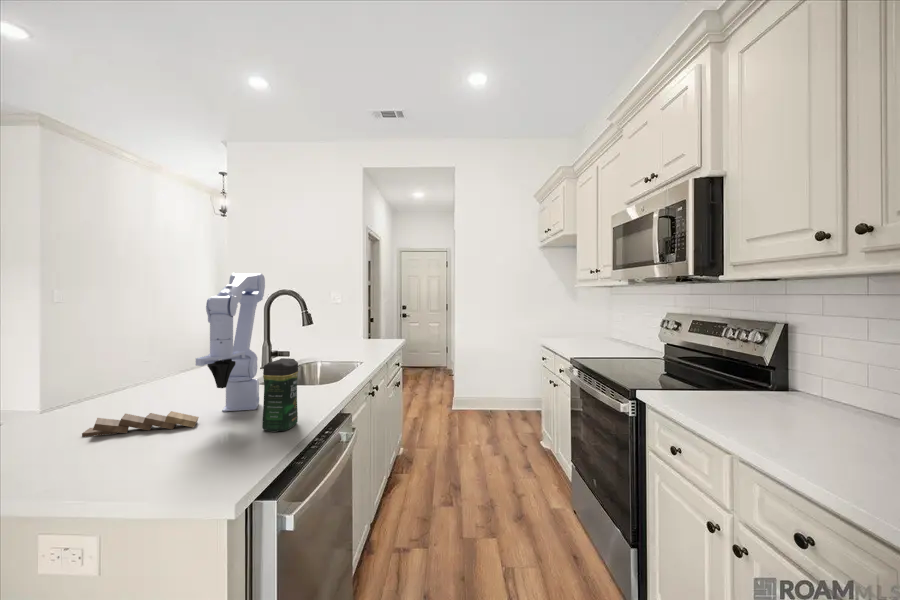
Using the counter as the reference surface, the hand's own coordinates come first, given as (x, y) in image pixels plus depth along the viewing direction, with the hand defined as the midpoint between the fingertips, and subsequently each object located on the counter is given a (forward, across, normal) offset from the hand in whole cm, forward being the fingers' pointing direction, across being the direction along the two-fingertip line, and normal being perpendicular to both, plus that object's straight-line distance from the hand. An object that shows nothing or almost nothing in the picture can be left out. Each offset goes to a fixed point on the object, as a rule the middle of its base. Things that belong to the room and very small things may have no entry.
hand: (221, 387), depth 118 cm
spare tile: (+9, +4, -5) cm, 11 cm away
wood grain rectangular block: (+10, +15, -18) cm, 26 cm away
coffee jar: (+10, -3, +18) cm, 21 cm away
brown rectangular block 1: (+9, +14, -16) cm, 23 cm away
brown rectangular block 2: (+9, +10, -13) cm, 19 cm away
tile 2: (+9, +7, -8) cm, 14 cm away
